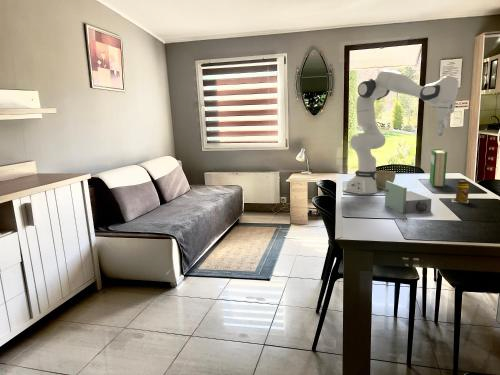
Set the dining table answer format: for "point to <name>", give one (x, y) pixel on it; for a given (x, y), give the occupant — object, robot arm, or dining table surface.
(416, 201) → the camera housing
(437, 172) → the hardback book
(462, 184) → the condiment
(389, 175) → the planter bowl
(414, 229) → the dining table surface
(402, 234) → the dining table surface
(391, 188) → the side door
